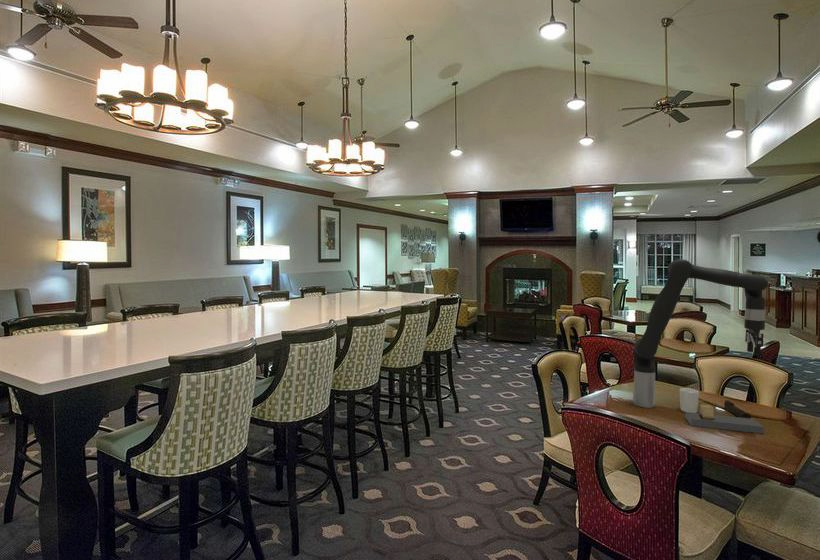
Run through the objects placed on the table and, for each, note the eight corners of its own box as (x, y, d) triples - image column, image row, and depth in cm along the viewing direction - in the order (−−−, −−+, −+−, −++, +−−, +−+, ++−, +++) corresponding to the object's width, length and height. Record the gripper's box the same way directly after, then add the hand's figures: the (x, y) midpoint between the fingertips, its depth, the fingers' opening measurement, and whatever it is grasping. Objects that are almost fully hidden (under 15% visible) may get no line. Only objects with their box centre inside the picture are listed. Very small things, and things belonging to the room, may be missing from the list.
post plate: (690, 425, 194) (691, 419, 194) (685, 418, 204) (685, 411, 203) (763, 433, 185) (763, 426, 185) (754, 425, 195) (754, 419, 194)
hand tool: (751, 422, 200) (752, 412, 200) (741, 421, 201) (741, 411, 201) (731, 409, 218) (731, 399, 218) (722, 408, 219) (722, 399, 219)
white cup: (700, 410, 215) (700, 390, 214) (696, 414, 209) (697, 393, 208) (681, 407, 220) (681, 387, 220) (677, 410, 214) (677, 390, 214)
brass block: (702, 425, 195) (702, 407, 195) (700, 422, 199) (700, 404, 199) (713, 426, 194) (713, 408, 194) (710, 423, 198) (711, 405, 197)
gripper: (739, 316, 214) (738, 350, 214) (750, 320, 200) (749, 356, 201) (758, 317, 211) (757, 351, 212) (771, 321, 198) (769, 357, 198)
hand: (753, 353), depth 206 cm, fingers open, 8 cm apart
